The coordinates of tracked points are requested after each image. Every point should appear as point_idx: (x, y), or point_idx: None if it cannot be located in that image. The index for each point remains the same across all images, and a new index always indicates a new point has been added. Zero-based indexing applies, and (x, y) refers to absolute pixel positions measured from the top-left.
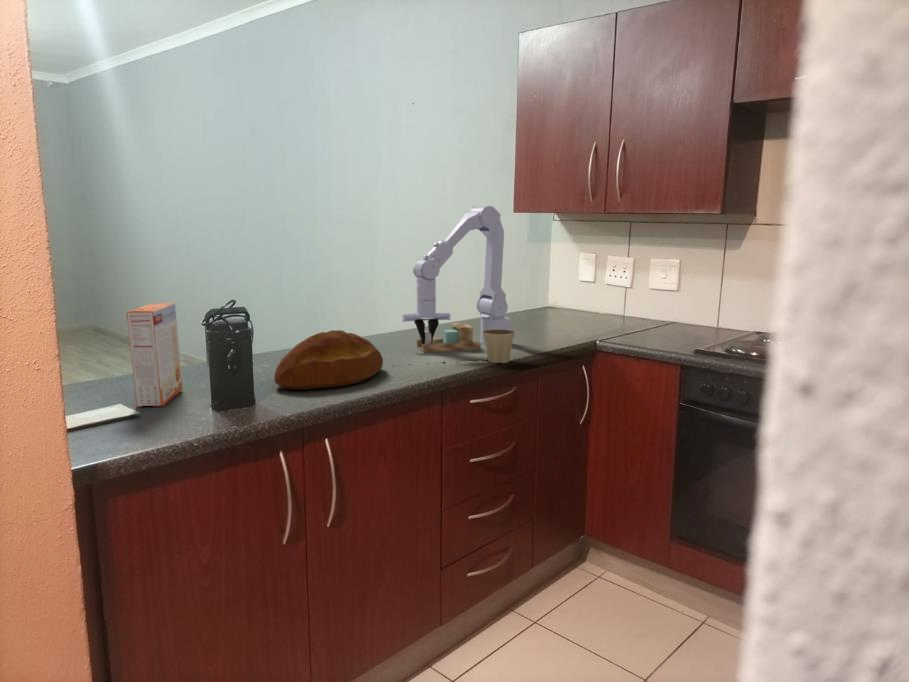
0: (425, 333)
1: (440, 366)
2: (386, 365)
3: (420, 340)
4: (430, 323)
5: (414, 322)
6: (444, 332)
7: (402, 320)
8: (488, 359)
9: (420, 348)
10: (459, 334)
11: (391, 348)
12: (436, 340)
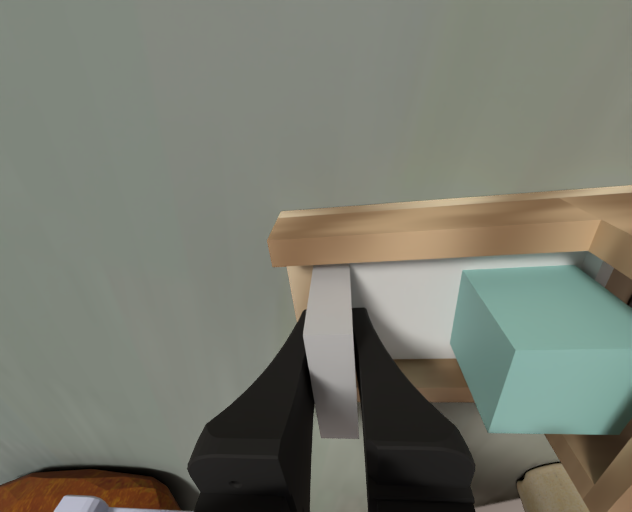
0: (319, 427)
1: (345, 484)
2: (183, 452)
3: (299, 263)
4: (368, 504)
5: (200, 442)
6: (496, 377)
7: (63, 501)
8: (519, 493)
9: (300, 290)
10: (562, 451)
11: (111, 167)
12: (429, 252)
